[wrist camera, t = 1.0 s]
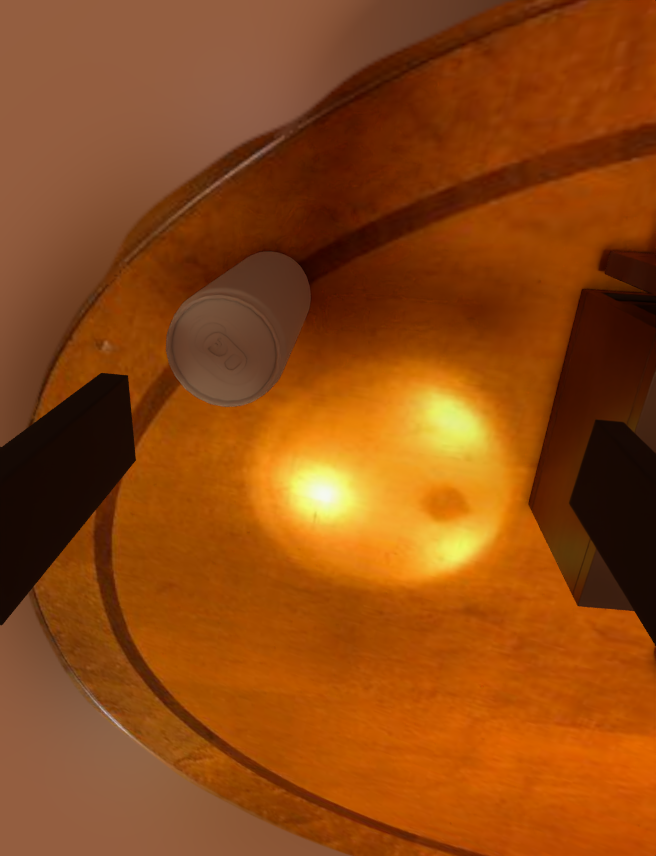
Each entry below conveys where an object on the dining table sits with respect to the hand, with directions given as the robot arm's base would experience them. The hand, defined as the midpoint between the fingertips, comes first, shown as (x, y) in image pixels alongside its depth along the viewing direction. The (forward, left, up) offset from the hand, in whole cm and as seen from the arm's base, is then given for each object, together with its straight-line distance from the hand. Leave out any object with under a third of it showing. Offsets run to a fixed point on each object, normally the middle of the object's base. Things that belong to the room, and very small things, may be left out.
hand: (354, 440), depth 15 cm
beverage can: (0, -5, -18) cm, 19 cm away
